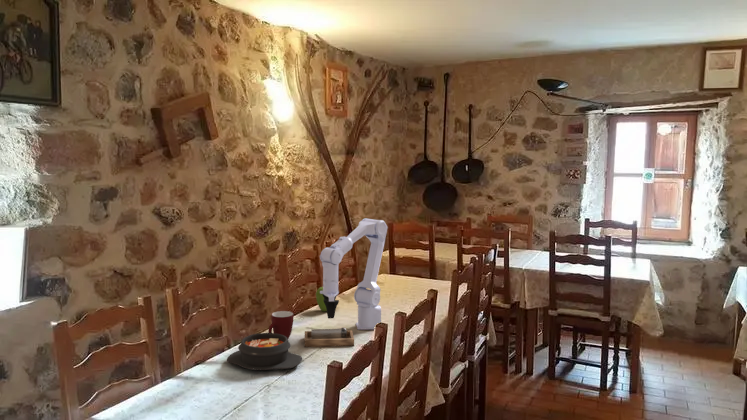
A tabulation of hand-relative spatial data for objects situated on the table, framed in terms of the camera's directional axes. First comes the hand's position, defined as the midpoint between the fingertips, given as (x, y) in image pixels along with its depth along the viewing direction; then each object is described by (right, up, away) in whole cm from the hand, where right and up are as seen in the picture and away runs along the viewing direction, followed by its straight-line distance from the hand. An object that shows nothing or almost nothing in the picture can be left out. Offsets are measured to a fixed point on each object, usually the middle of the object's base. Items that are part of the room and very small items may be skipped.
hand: (330, 315), depth 202 cm
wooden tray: (0, -10, -2) cm, 10 cm away
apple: (-5, -6, +37) cm, 38 cm away
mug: (-18, -9, -3) cm, 21 cm away
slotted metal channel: (0, -9, -2) cm, 9 cm away
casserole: (-20, -12, -25) cm, 34 cm away
